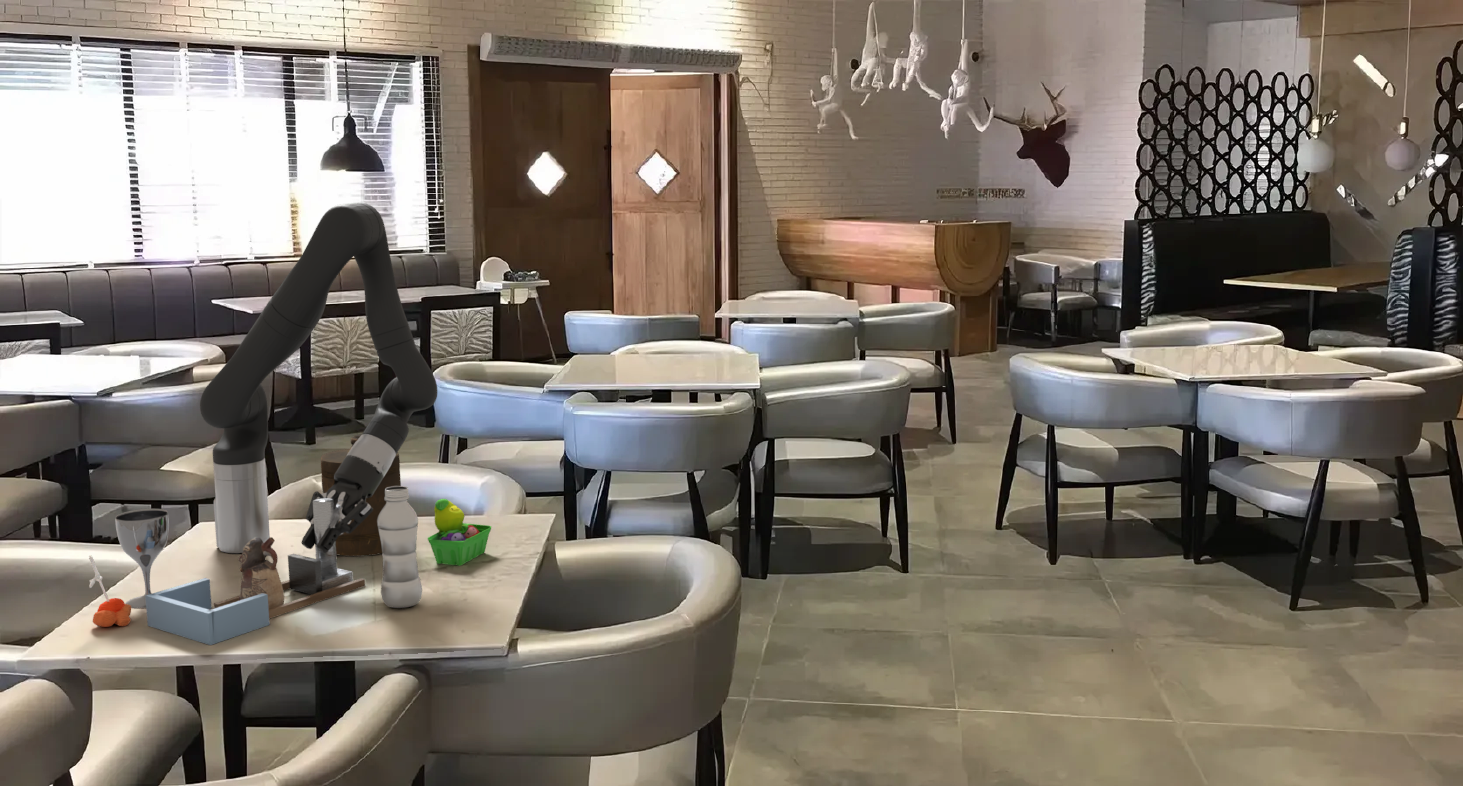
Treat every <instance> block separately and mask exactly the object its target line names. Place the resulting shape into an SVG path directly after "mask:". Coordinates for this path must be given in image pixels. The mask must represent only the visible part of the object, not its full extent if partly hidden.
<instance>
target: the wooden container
mask: <svg viewBox="0 0 1463 786" xmlns="http://www.w3.org/2000/svg"><path fill="white" fill-rule="evenodd" d="M362 434H363V433H358V434H354V435H353V436H351V438H350V444H351V447H350V448H344V449H338V450H333V451H330V452H327V453H324V454H322V455H321V456H320V470H321V471H320V472H321V494H323V493H327V491H328V490H329V489H330V488H331V487H332V486H333V485H334V482H335V481H334V474H335V473H336V471H337V470H338V468H339V467H340V465H341V463H342V462H343V460H344V459H345V457H346V456H347V454H348V453H349V451H350V449H351V448H352V446H353V445H354V444H355V442H356V441H357V440H358V439H359V438H360V436H361V435H362ZM399 453H400V452H399V451H398V452H397V454H396V456H395V457H394V459H393V462H392V464H391V466H390V468H389V470H388V471H387V473H386V474H385V476H384V478H383V479H382V481H381V482H380V484H379V486H378V487H377V489H376V491H375V492H374V494H373V495H372V497H370V498H366V502H367V503H368V504H369V505H370V506H371V507H372V508H373V511H372V512H371V513H370V514H369V515H368V516H367V517H366V518H365V519H364V520H363V521H362V522H361V523H360V524H359V525H358V526H357V527H356V528H355V529H354V530H353V531H352V532H351V533H350V534H348V533H346V532H345V533H343V534H342V535H339V536H338V538H337V539H336V556H341V557H342V556H343V557H365V556H366V557H367V556H375V555H381V554H383V552H382V546H381V540H380V535H379V530H378V525H377V519H378V515H379V514H380V512H381V510H382V509H383V507H384V506H385V505H386V501H385V500H384V497H385V489H386V488H388V487H393V486H402V483H401V468H400V467H401V463H400V454H399ZM353 521H354V519H352V520H351V522H350V524H351V523H352V522H353ZM339 523H340V521H339ZM350 524H348V525H350Z"/></svg>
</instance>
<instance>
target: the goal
mask: <svg viewBox="0 0 1463 786" xmlns="http://www.w3.org/2000/svg"><path fill="white" fill-rule="evenodd" d="M151 593H152V592H151ZM144 595H145V594H144ZM145 598H146V608H145V609H146V619H147V627H150V628H154V629H157V630H161V631H163V632H166V633H170V634H173V635H177V636H179V637H183V638H186V639H188V640H192V641H194V642H198V643H202V644H206V645H208V646H212V645H215V644H219V643H222V642H224V641H226V640H229V639H232V638H234V637H238V636H242V635H244V634H247V633H249V632H253V631H255V630H258V629H261V628H264V627H267V626H270V618H269V609H268V595H267V594H264V593H262V594H259V595H256V596H252V597H249V598H246V599H243V600H240V601H237V602H234V603H230V604H227V605H224V606H221V607H218V608H215V609H214V608H213V609H212V607H213V606H212V595H211V580H210V578H207V577H203V578H200V579H196V580H194V581H190V582H187V583H183V584H180V585H176V586H174V587H170V588H166V589H164V590H163V589H162V590H160V591H157V592H153V593H152V594H149V595H145Z"/></svg>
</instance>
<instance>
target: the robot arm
mask: <svg viewBox="0 0 1463 786" xmlns="http://www.w3.org/2000/svg"><path fill="white" fill-rule="evenodd" d="M353 258H354V259H355V262H356V264H357V266H358V269H359V272H360V275H361V278H362V283H363V290H364V305H365V306H364V307H365V309H364V310H365V318H366V323H367V324H366V325H367V328H368V331H369V334H370V338H371V339H372V342H373V346H374V349H375V351H376V354H377V357H378V359H379V360H380V362H381V363H382V365H385V366H389V367H390V368H391V369H392V371H393V372H394V373H393V374H395V376H396V377H394V378H393V379H391V381H390V382H389V383H388V384H387V385H386V387H385V388H384V390H383V392H382V394H381V395H380V399H379V401H378V404H377V405H376V408H375V412H374V415H373V417H372V419H371V420H370V421H369V423H368V424H367V426H366V428H365V429H364V430H363V432H362V433H361V434H362V435H361V436H360V438H359V439H358V440H357V441H356V442H355V444H354V445H353V446H352V445H351V446H352V448H351V447H350V448H351V449H350V448H349V449H350V451H349V453H348V454H347V456H346V457H345V459H344V460H343V462H342V463H341V465H340V467H339V468H338V470H337V471H336V473H335V474H334V481H335V482H334V485H333V486H332V487H331V488H330V489H329V490H328V491H327V493H323V494H322V493H320V492H319V491H317V490H316V491H315V492H313V493H312V497H311V499H310V502H309V503H310V504H309V506H308V508H307V509H308V510H307V513H306V516H305V520H307V521H308V522H309V523H310V526H309V528H307V530H306V532H305V534H304V536H303V537H302V539H301V541H300V542H301V545H302V546H303V547H305V548H306V549H308V550H312V549H313V548H314V546H315V533H314V516H313V501H314V500H316V499H322V498H330V499H333V502H334V512H333V520H332V522H331V524H330V529H329V528H327V530H326V531H325V533H324V535H323V536H322V538H321V539H320V541H319V543H318V544H317V548H318V549H320V550H321V551H322V552H325V553H327V552H328V551H329V549H330V548H331V547H332V546H333V544H334V542H335V541H336V539H337V538H338V536H339V535H342V534H343V533H345V532H346V533H348V534H350V533H351V532H352V531H353V530H354V529H355V528H356V527H357V526H358V525H359V524H360V523H361V522H362V521H363V520H364V519H365V518H366V517H367V516H368V515H369V514H370V513H371V512H372V511H373V508H372V507H371V506H370V505H369V504H368V503H367V502H366V498H370V497H372V495H373V494H374V492H375V491H376V489H377V487H378V486H379V484H380V482H381V481H382V479H383V478H384V476H385V474H386V473H387V471H388V470H389V468H390V466H391V464H392V462H393V459H394V457H395V456H396V454H397V452H398V453H399V451H400V449H401V447H402V446H403V444H404V443H405V441H406V439H407V438H408V435H409V431H410V429H409V425H408V422H409V419H410V417H411V416H412V414H413V413H414V412H418V411H423V410H426V409H429V408H431V407H432V406H433V405H434V404H435V402H436V400H437V398H438V385H437V381H436V377H435V375H434V374H433V371H432V369H431V368H430V366H429V364H428V362H426V359H425V358H424V357H423V355H422V354H421V352H420V351H419V349H418V347H417V345H416V342H415V339H414V337H413V334H412V330H411V327H410V325H409V322H408V319H407V317H406V313H405V311H404V308H403V305H402V301H401V298H400V294H399V291H398V286H397V281H396V277H395V274H394V273H395V272H394V268H393V263H392V259H391V254H390V249H389V243H388V236H387V232H386V226H385V223H384V220H383V217H382V216H381V213H380V212H379V211H378V210H377V208H375V207H374V206H373V205H371V204H368V203H364V202H351V203H342V204H337V205H335V206H332V207H331V208H329V209H328V210H327V211H326V212H325V213H324V214H323V215H322V217H321V218H320V220H319V222H318V223H317V226H316V227H315V229H314V231H313V233H312V236H311V237H310V239H309V241H308V243H307V244H306V247H305V249H304V250H303V253H302V254H301V256H300V258H299V259H298V260H297V262H296V263H295V265H294V266H293V267H292V268H291V270H290V271H289V272H288V274H287V275H286V277H285V279H284V280H283V281H282V283H281V285H279V287H278V288H277V290H276V291H275V292H274V294H273V295H272V296H271V298H270V299H269V301H268V303H266V305H265V306H264V308H263V310H262V311H261V313H260V314H259V316H258V318H257V319H256V320H255V322H254V324H253V325H252V327H251V328H250V330H249V331H248V333H247V334H246V335H245V337H244V338H243V340H242V341H241V343H240V344H239V346H238V347H237V349H236V351H235V352H234V354H233V355H232V357H230V359H229V360H228V361H227V362H226V363H225V365H224V366H223V367H222V368H221V369H220V370H219V371H218V373H217V374H216V375H215V376H214V377H213V379H211V381H210V382H209V383H208V384H207V386H206V387H205V388H204V390H203V392H202V394H201V396H200V401H199V410H200V414H201V417H202V419H203V420H204V422H205V423H206V424H208V425H209V426H210V427H213V428H217V429H223V433H222V435H221V437H220V439H219V441H217V442H216V444H215V445H214V447H213V448H212V463H213V464H212V465H213V476H214V477H213V478H214V479H213V480H214V491H215V493H214V494H215V498H214V500H213V511H214V512H213V513H214V525H215V526H214V527H215V539H216V540H215V541H216V542H215V543H216V548H219V549H218V550H220V551H221V552H223V553H226V554H228V553H229V554H242V553H243V548H244V547H245V545H246V544H247V543H248V542H249V541H250V540H252V539H254V538H256V537H259V538H261V539H262V541H263V543H265V542H266V541H267V540H268V539H269V538H270V537H271V536H270V535H271V534H270V519H269V517H270V516H269V501H268V499H269V498H268V487H267V472H266V458H265V456H266V455H265V453H266V452H265V450H266V448H267V444H268V440H269V439H268V438H269V415H268V414H269V413H268V399H267V394H266V391H265V388H264V387H263V386H262V383H263V381H265V379H266V378H267V377H268V376H269V375H270V374H271V373H272V372H273V371H275V370H276V369H277V368H279V366H281V365H282V364H283V363H284V362H285V361H287V360H288V359H289V358H290V357H291V356H292V355H294V353H296V352H297V351H298V350H299V348H300V347H302V345H303V344H305V342H306V341H307V339H308V338H309V336H310V335H311V334H312V332H313V330H314V329H315V328H316V326H318V323H319V321H320V320H321V318H322V316H323V314H324V311H325V308H326V305H327V301H328V297H329V296H328V295H329V293H330V289H331V287H332V285H333V283H334V281H335V279H336V278H337V277H338V275H340V273H341V271H342V270H343V269H344V268H345V267H346V265H347V264H348V263H349V262H350V261H351V259H353ZM352 519H354V521H353V522H352V523H351V524H350V522H351V520H352ZM339 521H340V523H339ZM348 524H350V525H348Z"/></svg>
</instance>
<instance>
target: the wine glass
mask: <svg viewBox="0 0 1463 786" xmlns="http://www.w3.org/2000/svg"><path fill="white" fill-rule="evenodd" d="M114 518H115V520H114V521H115V529H116V535H117V539H118V541H119V544H120V547H121V549H122V551H123V552H124V553H125V554H126V555H127V556H128V557H130V558H131V559H132V560H133V561H135V562H136V563H137V565H138V566H139V568H140V569H141V571H142V572H141V573H142V576H143V581H144V591H145V593H144V595H140V596H136V597H133V598H130V599H129V600H127V601H126V602H124V603H125V604H128V605H131V609H146V598H145V595H149V594H152V590H151V569H152V566H153V563H154V561H156V559H157V558H158V556H159V555H160V554H161V552H162V551H163V550H164V548H165V547H166V545H167V543H168V538H169V528H170V523H169V513H168V510H166V509H163V508H141V509H135V510H133V509H132V510H130V511H129V510H128V511H125V512H121V513H119V514H117V515H116V516H115V517H114Z"/></svg>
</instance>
